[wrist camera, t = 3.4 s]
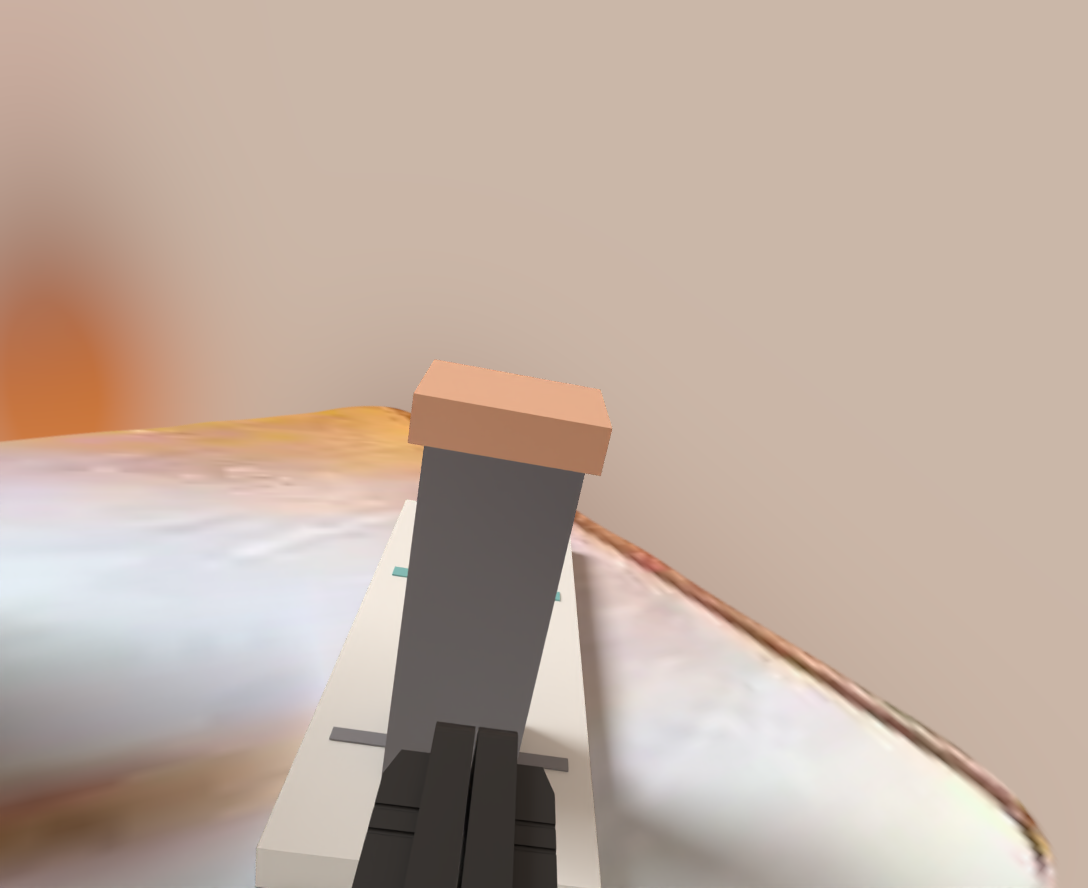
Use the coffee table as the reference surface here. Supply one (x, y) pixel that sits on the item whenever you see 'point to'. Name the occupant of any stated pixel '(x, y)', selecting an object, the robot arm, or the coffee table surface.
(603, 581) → the coffee table surface
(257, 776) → the coffee table surface
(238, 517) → the coffee table surface
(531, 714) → the plate
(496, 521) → the post
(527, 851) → the robot arm
